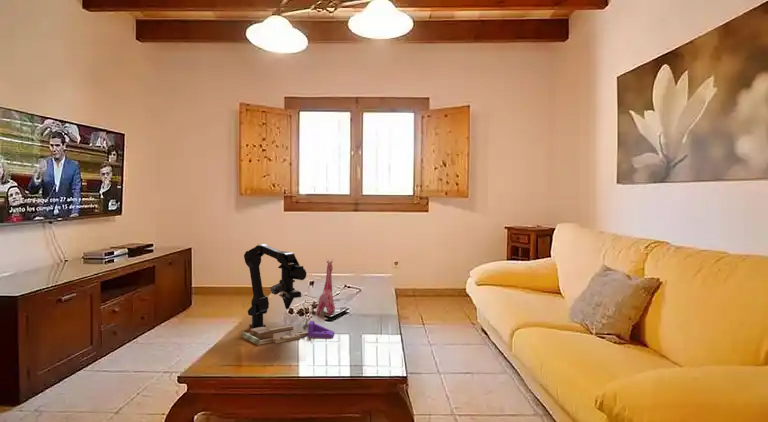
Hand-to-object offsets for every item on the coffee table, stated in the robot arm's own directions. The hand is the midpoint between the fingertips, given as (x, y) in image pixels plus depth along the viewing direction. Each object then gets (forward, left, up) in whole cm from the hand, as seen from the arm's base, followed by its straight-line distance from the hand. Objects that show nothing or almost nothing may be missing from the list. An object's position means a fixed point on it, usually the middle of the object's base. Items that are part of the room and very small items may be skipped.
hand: (287, 309), depth 288 cm
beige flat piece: (+4, -8, -12) cm, 15 cm away
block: (+2, -15, -12) cm, 19 cm away
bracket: (+15, +11, -13) cm, 22 cm away
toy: (-27, +41, -12) cm, 50 cm away
